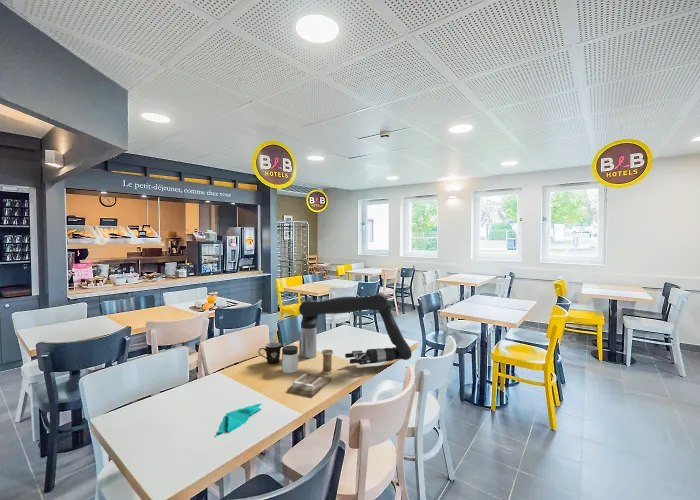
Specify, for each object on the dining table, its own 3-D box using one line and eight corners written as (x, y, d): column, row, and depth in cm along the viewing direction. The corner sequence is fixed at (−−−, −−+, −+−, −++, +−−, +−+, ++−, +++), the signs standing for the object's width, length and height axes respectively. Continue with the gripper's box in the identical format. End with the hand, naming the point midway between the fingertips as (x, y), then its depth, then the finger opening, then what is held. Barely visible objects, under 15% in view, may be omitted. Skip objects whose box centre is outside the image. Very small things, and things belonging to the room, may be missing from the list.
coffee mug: (282, 359, 193) (283, 342, 192) (278, 365, 184) (278, 347, 184) (263, 359, 194) (263, 341, 193) (257, 364, 185) (257, 346, 185)
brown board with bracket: (287, 391, 154) (287, 383, 153) (308, 375, 171) (308, 368, 171) (312, 397, 149) (312, 388, 148) (331, 380, 166) (331, 373, 166)
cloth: (253, 401, 146) (253, 396, 146) (276, 411, 138) (276, 405, 138) (197, 429, 124) (197, 423, 124) (219, 442, 116) (219, 436, 116)
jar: (281, 367, 181) (281, 345, 181) (296, 366, 184) (296, 344, 183) (282, 374, 173) (283, 351, 172) (298, 372, 175) (299, 349, 175)
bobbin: (319, 373, 175) (320, 352, 174) (324, 369, 180) (325, 348, 180) (329, 374, 173) (329, 353, 172) (334, 371, 178) (334, 350, 177)
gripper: (371, 344, 191) (343, 347, 186) (381, 353, 177) (351, 356, 172) (371, 358, 191) (343, 360, 186) (380, 367, 178) (351, 370, 173)
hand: (347, 358), depth 179 cm, fingers open, 8 cm apart
